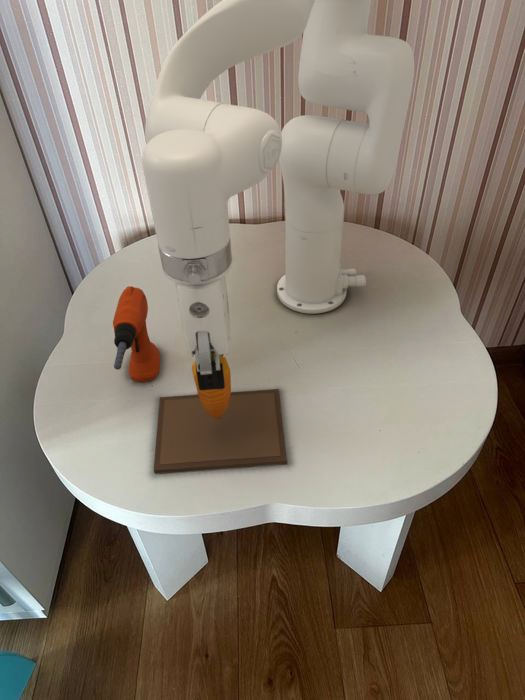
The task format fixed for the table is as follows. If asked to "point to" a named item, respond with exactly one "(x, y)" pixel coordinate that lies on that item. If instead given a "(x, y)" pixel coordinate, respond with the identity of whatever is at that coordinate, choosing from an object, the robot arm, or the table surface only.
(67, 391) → the table surface
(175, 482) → the table surface
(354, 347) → the table surface
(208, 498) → the table surface
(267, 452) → the mat
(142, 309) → the toy drill
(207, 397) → the carrot
